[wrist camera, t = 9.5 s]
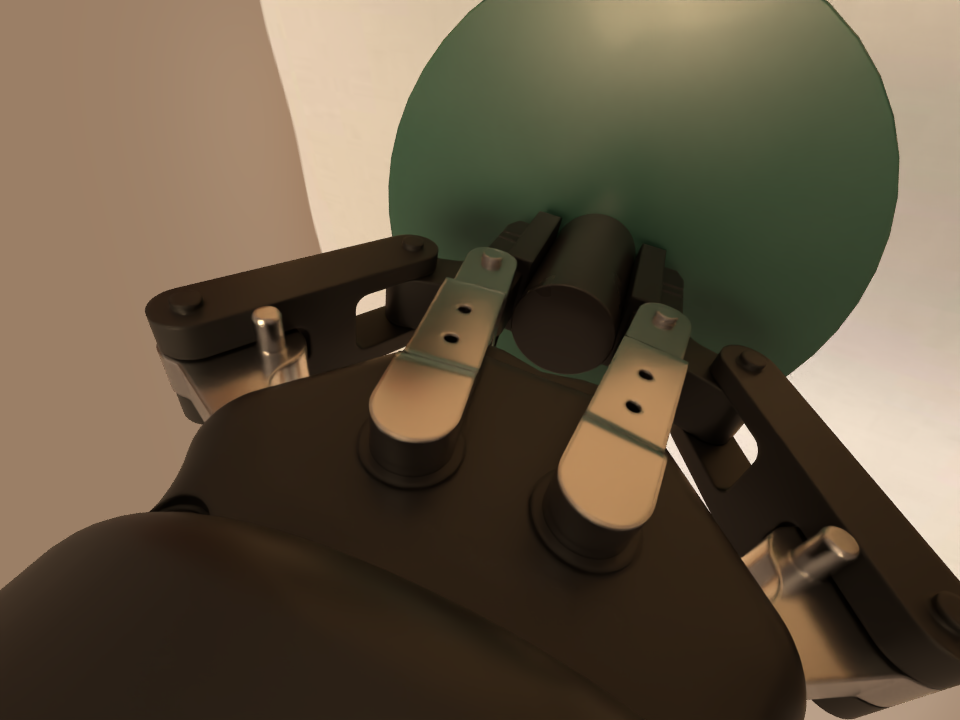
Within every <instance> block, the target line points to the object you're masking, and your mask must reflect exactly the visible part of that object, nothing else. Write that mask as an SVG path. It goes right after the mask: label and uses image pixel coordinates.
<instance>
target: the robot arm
mask: <svg viewBox="0 0 960 720" xmlns="http://www.w3.org/2000/svg"><path fill="white" fill-rule="evenodd" d="M561 220H562V218H561V217H558V216H555V215H552V214H548V213H545V212H542V211H539V212H538V214H537V215H536V216H535V218H534V219H533V220H532V222H531V223H530V224H529V223H526V222H523V221H517V222H514V223H511V224H508V226H507V227H506V228H505V229H504V230H503V232H501V234H500V235H499V237H497V238H496V239H495V240H494V242H493V243H492V244H491V245H490V246H489V247H479V248H475V249H472V250H471V251H469V253H468V254H467V256H466V258H465V260H464V261H455V260H448V259H442V258H438V252H439V248H438V246H437V244H436V243H435V242H433V241H432V240H430V239H428V238H425V237H423V236H419V235H411V234H404V235H397V236H393V237H389V238H385V239H380V240H376V241H372V242H368V243H364V244H359V245H355V246H351V247H347V248H343V249H338V250H334V251H330V252H326V253H321V254H317V255H314V256H309V257H305V258H300V259H296V260H292V261H288V262H284V263H279V264H276V265H271V266H267V267H263V268H259V269H254V270H250V271H246V272H241V273H238V274H233V275H229V276H225V277H221V278H216V279H213V280H208V281H204V282H200V283H195V284H191V285H187V286H183V287H179V288H174V289H171V290H168V291H165V292H162V293H161V294H158V295H157V296H155V297H154V298H152V299H151V300H150V301H149V302H148V304H147V306H146V308H145V313H146V316H147V319H148V321H149V324H150V327H151V329H152V332H153V334H154V337H155V339H156V342H157V351H158V353H159V356H160V359H161V361H162V363H163V366H164V369H165V371H166V374H167V376H168V379H169V381H170V384H171V386H172V388H173V390H174V391H175V392H176V393H177V396H178V398H179V401H180V404H181V406H182V409H183V412H184V414H185V416H186V417H187V418H188V419H189V420H191V421H193V422H195V423H198V424H203V425H202V426H201V427H200V429H199V430H198V432H197V433H196V435H195V437H194V438H193V440H192V442H191V445H190V447H189V450H188V452H187V455H186V457H185V461H184V463H183V465H182V468H181V469H180V471H179V473H178V475H177V477H176V479H175V480H174V482H173V483H172V485H171V487H170V488H169V490H168V491H167V492H166V494H165V495H164V496H163V498H162V499H161V500H160V502H159V503H158V504H157V505H156V506H155V507H154V508H153V509H152V510H151V511H150V512H146V513H136V514H130V515H124V516H120V517H116V518H112V519H109V520H106V521H102V522H99V523H96V524H93V525H91V526H89V527H87V528H84V529H82V530H80V531H78V532H76V533H74V534H73V535H71V536H69V537H68V538H66V539H65V540H63V541H61V542H60V543H58V544H57V545H55V546H53V547H52V548H51V549H49V550H48V551H47V552H46V553H44V554H43V555H42V556H41V557H40V558H39V559H37V560H36V561H35V562H33V564H31V565H30V566H29V567H27V568H26V569H25V570H24V571H23V572H22V573H21V574H19V575H18V576H17V577H16V578H14V579H13V580H12V581H11V582H10V583H9V584H7V585H6V586H5V587H4V588H2V589H1V590H0V720H804V717H805V712H806V700H812V701H813V702H815V703H816V704H817V705H818V706H819V707H821V708H822V709H824V710H825V711H826V712H828V713H830V714H832V715H834V716H836V717H839V718H842V719H855V718H858V717H861V716H864V715H867V714H870V713H873V712H877V711H880V710H883V709H886V708H889V707H892V706H895V705H898V704H901V703H905V702H908V701H911V700H914V699H917V698H920V697H923V696H926V695H929V694H932V693H936V692H939V691H942V690H945V689H947V688H951V687H954V686H957V685H960V581H959V580H958V579H957V577H956V576H955V575H954V574H953V573H952V572H951V570H950V569H949V568H948V567H947V566H946V564H945V563H944V562H943V561H942V560H941V559H940V557H939V556H938V555H937V554H936V553H935V552H934V550H933V549H932V548H931V547H930V546H929V545H928V543H927V542H926V541H925V540H924V539H923V537H922V536H921V535H920V534H919V533H918V532H917V530H916V529H915V528H914V527H913V526H912V525H911V523H910V522H909V521H908V520H907V519H906V517H905V516H904V515H903V514H902V513H901V512H900V510H899V509H898V508H897V507H896V506H895V505H894V503H893V502H892V501H891V500H890V499H889V498H888V496H887V495H886V494H885V493H884V492H883V490H882V489H881V488H880V487H879V486H878V485H877V483H876V482H875V481H874V480H873V479H872V478H871V476H870V475H869V474H868V473H867V472H866V470H865V469H864V468H863V467H862V466H861V465H860V463H859V462H858V461H857V460H856V459H855V458H854V456H853V455H852V454H851V453H850V452H849V451H848V449H847V448H846V447H845V446H844V445H843V443H842V442H841V441H840V440H839V439H838V438H837V436H836V435H835V434H834V433H833V432H832V431H831V429H830V428H829V427H828V426H827V425H826V423H825V422H824V421H823V420H822V419H821V418H820V416H819V415H818V414H817V413H816V412H815V411H814V409H813V408H812V407H811V406H810V405H809V404H808V402H807V401H806V400H805V399H804V398H803V396H802V395H801V394H800V393H799V392H798V391H797V389H796V388H795V387H794V386H793V385H792V384H791V382H790V381H789V380H788V379H787V378H786V376H785V375H784V374H783V373H782V372H781V371H780V369H779V368H778V367H777V366H776V365H775V364H774V363H773V362H772V361H771V360H770V359H769V358H767V357H766V356H765V355H763V354H761V353H760V352H758V351H756V350H753V349H751V348H748V347H745V346H741V345H732V344H731V345H726V346H724V347H723V348H722V349H721V351H720V352H719V354H717V353H715V352H713V351H711V350H709V349H707V348H706V347H704V346H702V345H700V344H699V343H697V342H696V341H695V340H694V339H692V338H691V337H690V335H691V331H692V324H691V322H690V320H689V319H688V318H687V317H686V316H685V315H684V314H683V289H684V280H683V279H682V277H681V276H680V274H679V273H678V272H677V271H676V270H673V269H669V268H666V267H665V258H666V250H663V249H660V248H656V247H653V246H650V245H647V244H644V243H643V244H642V245H641V247H640V249H639V252H638V254H637V256H636V258H635V261H634V263H633V267H632V272H631V276H630V280H629V284H628V289H627V293H626V297H625V302H624V306H623V310H622V314H621V319H620V323H619V328H618V332H617V337H616V341H615V345H614V348H613V350H612V352H611V354H610V355H609V357H608V358H607V359H606V360H605V361H604V362H603V363H602V365H605V366H607V367H608V368H607V370H606V372H605V374H604V376H603V378H602V380H601V382H600V384H599V385H596V384H593V383H591V382H588V381H585V380H581V379H576V378H570V377H565V376H560V375H555V374H550V373H545V372H542V371H539V370H537V369H535V368H534V367H532V366H530V365H529V364H527V363H525V362H523V361H522V360H520V359H518V358H517V357H515V356H513V355H511V354H510V353H508V352H506V351H505V350H502V349H499V348H497V343H498V339H499V335H500V334H501V333H502V332H503V330H504V329H506V330H509V331H511V317H512V313H513V310H514V308H515V306H516V304H517V302H518V300H519V299H520V297H521V296H522V294H523V292H524V291H525V289H526V287H527V286H528V284H529V282H530V281H531V279H532V277H533V276H534V274H535V272H536V271H537V269H538V267H539V266H540V264H541V262H542V261H543V259H544V258H545V256H546V254H547V253H548V251H549V249H550V248H551V246H552V244H553V243H554V241H555V239H556V238H557V234H558V231H559V228H560V224H561ZM383 289H386V306H383V307H380V308H377V309H375V310H372V311H369V312H366V313H363V314H360V315H357V316H356V306H357V304H358V302H359V301H360V300H361V299H362V298H363V297H364V296H366V295H368V294H371V293H374V292H377V291H380V290H383ZM405 346H406V347H405ZM403 347H405V349H404V350H403V351H398V352H396V353H392V354H389V353H391V352H394V351H396V350H398V349H401V348H403ZM386 354H389V355H386ZM384 355H385V356H384ZM744 423H745V425H746V426H747V428H748V429H749V431H750V432H751V434H752V435H753V437H754V438H755V440H756V442H757V446H758V455H757V458H756V460H755V462H754V463H753V464H752V465H751V464H750V462H749V461H748V459H747V458H746V456H745V454H744V453H743V451H742V450H741V448H740V447H739V445H738V443H737V442H736V440H735V439H734V437H733V436H734V435H735V433H736V432H737V431H738V430H739V429H740V427H741V426H742V425H743V424H744ZM670 433H671V436H672V438H673V440H674V442H675V444H676V446H677V448H678V450H679V452H680V454H681V456H682V458H683V460H684V462H685V464H686V465H687V467H688V469H689V471H690V473H691V475H692V477H693V479H694V481H695V483H696V485H697V487H698V489H699V491H700V493H701V495H702V497H703V499H704V501H705V503H706V505H707V507H708V509H709V510H708V509H707V507H706V506H705V504H704V503H703V502H702V500H701V499H700V497H699V496H698V494H697V493H696V491H695V490H694V488H693V487H692V485H691V484H690V482H689V481H688V479H687V478H686V477H685V475H684V474H683V472H682V471H681V469H680V468H679V466H678V465H677V463H676V462H675V460H674V459H673V457H672V456H671V454H670V453H669V452H668V450H667V449H666V445H667V441H668V438H669V434H670ZM709 511H710V512H709Z"/></svg>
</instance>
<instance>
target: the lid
mask: <svg viewBox="0 0 960 720" xmlns="http://www.w3.org/2000/svg"><path fill="white" fill-rule="evenodd" d="M898 180H899V150H898V142H897V135H896V127H895V120H894V115H893V112H892V109H891V105H890V102H889V99H888V96H887V93H886V90H885V87H884V84H883V81H882V78H881V75H880V74H879V72H878V70H877V68H876V66H875V65H874V63H873V61H872V59H871V58H870V56H869V54H868V52H867V50H866V49H865V47H864V45H863V43H862V42H861V40H860V38H859V37H858V35H857V34H856V33H855V32H854V31H853V30H852V28H851V27H850V26H849V25H848V24H847V23H846V21H845V20H844V19H843V18H842V17H841V16H840V14H839V13H838V12H837V11H836V10H835V9H834V7H833V6H832V5H831V4H830V3H829V2H828V1H826V0H483V1H482V2H481V3H479V4H478V5H477V6H476V7H475V8H473V9H472V10H471V11H470V12H469V13H468V14H467V15H466V16H465V17H464V18H463V19H462V20H461V21H460V22H459V23H458V25H457V26H456V27H455V28H454V29H453V30H452V31H451V32H450V33H449V34H448V36H447V37H446V38H445V39H444V40H443V41H442V43H441V44H440V46H439V47H438V49H437V50H436V52H435V53H434V54H433V56H432V57H431V59H430V60H429V62H428V63H427V65H426V66H425V68H424V69H423V71H422V73H421V75H420V77H419V79H418V81H417V83H416V85H415V87H414V89H413V91H412V93H411V95H410V97H409V98H408V101H407V104H406V107H405V110H404V112H403V115H402V118H401V121H400V124H399V126H398V130H397V134H396V139H395V143H394V148H393V152H392V157H391V166H390V176H389V216H390V223H391V230H392V237H393V236H397V235H404V234H411V235H419V236H423V237H425V238H428V239H430V240H432V241H433V242H435V243H436V244H437V246H438V248H439V252H438V258H442V259H448V260H455V261H464V260H465V258H466V256H467V254H468V253H469V251H471V250H472V249H475V248H479V247H489V246H490V245H491V244H492V243H493V242H494V240H495V239H496V238H497V237H499V235H500V234H501V232H503V230H504V229H505V228H506V227H507V226H508V224H511V223H514V222H517V221H523V222H526V223H529V224H530V223H531V222H532V220H533V219H534V218H535V216H536V215H537V214H538V212H539V211H542V212H545V213H548V214H552V215H555V216H558V217H561V218H562V220H561V224H560V228H559V231H558V234H557V238H556V239H555V241H554V243H553V244H552V246H551V248H550V249H549V251H548V253H547V254H546V256H545V258H544V259H543V261H542V262H541V264H540V266H539V267H538V269H537V271H536V272H535V274H534V276H533V277H532V279H531V281H530V282H529V284H528V286H527V287H526V289H525V291H524V292H523V294H522V296H521V297H520V299H519V300H518V302H517V304H516V306H515V308H514V310H513V313H512V317H511V331H509V330H506V329H504V330H503V332H502V333H501V334H500V335H499V339H498V343H497V348H499V349H502V350H505V351H506V352H508V353H510V354H511V355H513V356H515V357H517V358H518V359H520V360H522V361H523V362H525V363H527V364H529V365H530V366H532V367H534V368H535V369H537V370H539V371H542V372H545V373H550V374H555V375H560V376H565V377H570V378H576V379H581V380H585V381H588V382H591V383H593V384H596V385H599V384H600V382H601V380H602V378H603V376H604V374H605V372H606V370H607V368H608V367H607V366H605V365H602V363H603V362H604V361H605V360H606V359H607V358H608V357H609V355H610V354H611V352H612V350H613V348H614V345H615V341H616V337H617V332H618V328H619V323H620V319H621V314H622V310H623V306H624V302H625V297H626V293H627V289H628V284H629V280H630V276H631V272H632V267H633V263H634V261H635V258H636V256H637V254H638V252H639V249H640V247H641V245H642V244H643V243H644V244H647V245H650V246H653V247H656V248H660V249H663V250H666V258H665V267H666V268H669V269H673V270H676V271H677V272H678V273H679V274H680V276H681V277H682V279H683V280H684V289H683V314H684V315H685V316H686V317H687V318H688V319H689V320H690V322H691V324H692V331H691V335H690V337H691V338H692V339H694V340H695V341H696V342H697V343H699V344H700V345H702V346H704V347H706V348H707V349H709V350H711V351H713V352H715V353H717V354H719V352H720V351H721V349H722V348H723V347H724V346H726V345H731V344H732V345H741V346H745V347H748V348H751V349H753V350H756V351H758V352H760V353H761V354H763V355H765V356H766V357H767V358H769V359H770V360H771V361H772V362H773V363H774V364H775V365H776V366H777V367H778V368H779V369H780V371H781V372H782V373H783V374H784V375H785V376H788V375H789V374H790V373H791V372H793V371H794V370H795V369H796V368H798V367H799V366H800V365H801V364H803V363H804V362H805V361H806V360H808V359H809V358H810V357H811V356H813V355H814V354H815V353H816V352H817V351H818V350H819V349H820V348H821V347H822V346H823V345H824V344H825V343H826V342H827V341H828V340H829V339H830V338H831V337H832V336H833V335H834V333H835V332H836V331H837V330H838V329H839V328H840V326H841V325H842V324H843V322H844V321H845V320H846V318H847V317H848V316H849V314H850V313H851V312H852V310H853V309H854V308H855V307H856V305H857V304H858V302H859V301H860V299H861V297H862V295H863V293H864V292H865V290H866V288H867V286H868V285H869V283H870V281H871V279H872V277H873V276H874V274H875V272H876V270H877V267H878V265H879V262H880V259H881V257H882V254H883V252H884V249H885V246H886V244H887V241H888V239H889V236H890V232H891V227H892V222H893V217H894V213H895V208H896V203H897V199H898Z"/></svg>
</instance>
